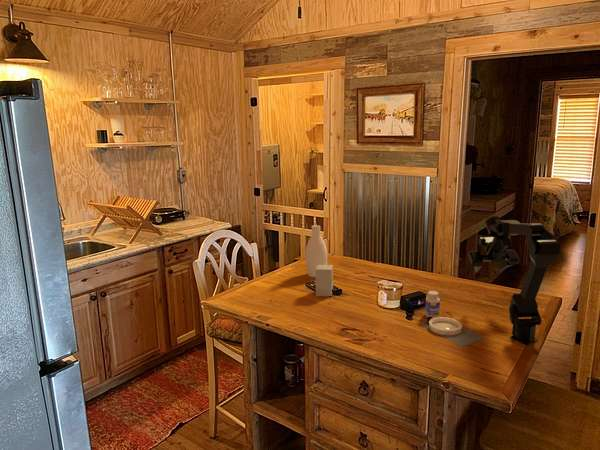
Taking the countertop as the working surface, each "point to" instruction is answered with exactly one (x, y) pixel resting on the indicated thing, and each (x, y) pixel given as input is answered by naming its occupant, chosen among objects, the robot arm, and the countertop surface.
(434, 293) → the pill bottle
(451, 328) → the dish
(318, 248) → the bottle
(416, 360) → the countertop surface
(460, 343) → the placemat
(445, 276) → the countertop surface
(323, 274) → the supplement box
